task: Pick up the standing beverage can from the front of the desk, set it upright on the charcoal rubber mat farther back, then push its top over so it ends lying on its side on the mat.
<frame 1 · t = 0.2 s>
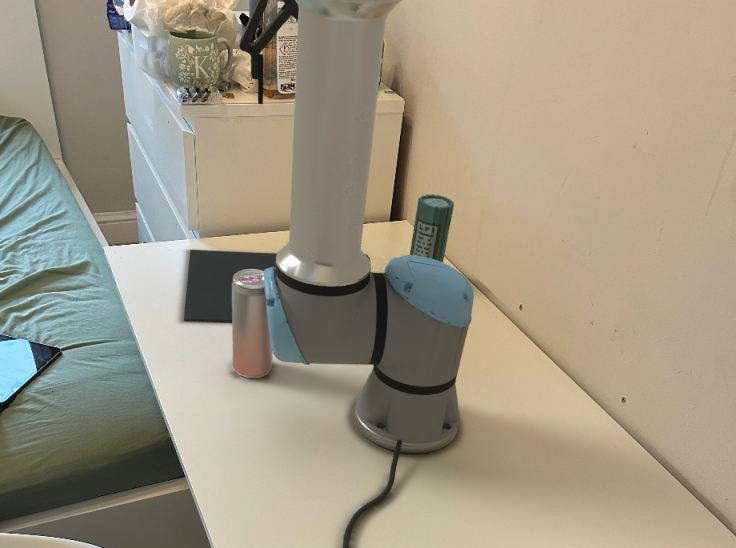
hand: (301, 105, 121), 28 cm above the table, tool pointing down, fingers open, 13 cm apart
camera: (332, 290, 135), on the table
can: (422, 281, 141), on the table
mat: (238, 285, 133), on the table
beverage can: (252, 370, 114), on the table
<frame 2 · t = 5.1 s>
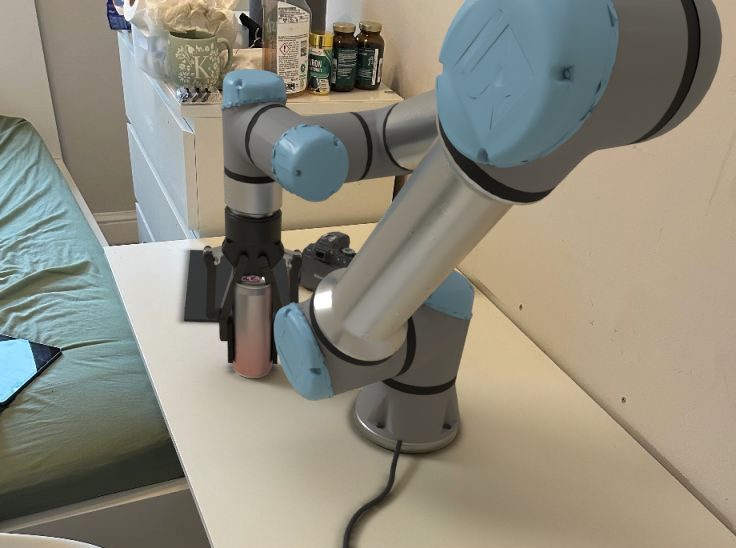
hand: (252, 358, 112), 2 cm above the table, tool pointing down, fingers closed on beverage can, 6 cm apart
beverage can: (252, 370, 114), on the table, touching gripper
everything else where it was.
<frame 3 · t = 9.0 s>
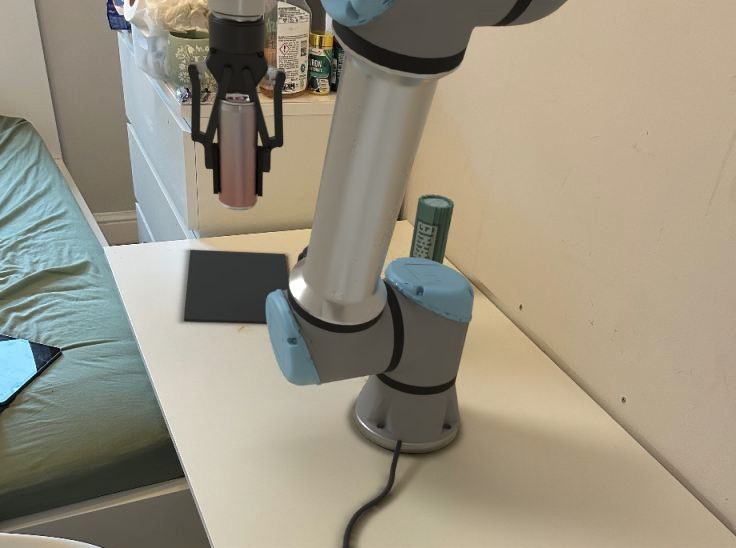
hand: (238, 191, 113), 20 cm above the table, tool pointing down, fingers closed on beverage can, 6 cm apart
beverage can: (238, 204, 115), point 18 cm above the table, touching gripper
everything else where it was.
when the fingers open (2 cm above the table, at t = 13.1 s): beverage can stays where it is, resting on mat.
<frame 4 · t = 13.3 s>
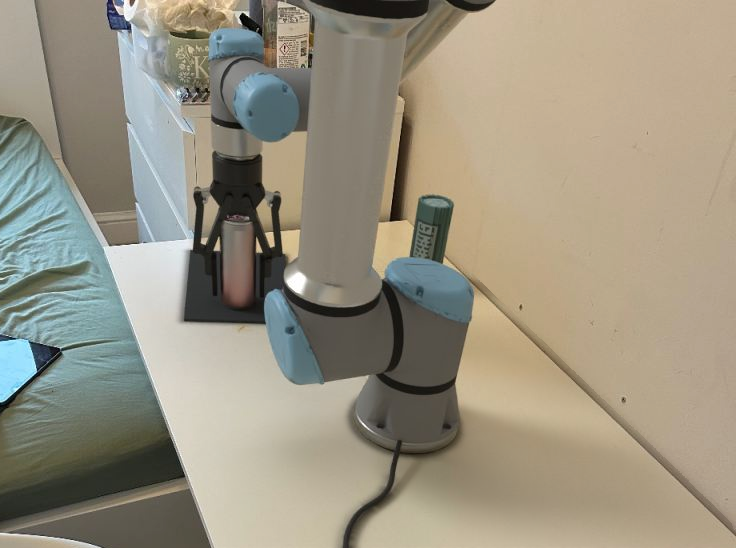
hand: (238, 292, 126), 2 cm above the table, tool pointing down, fingers open, 7 cm apart
beverage can: (238, 303, 127), resting on mat
everything else where it was.
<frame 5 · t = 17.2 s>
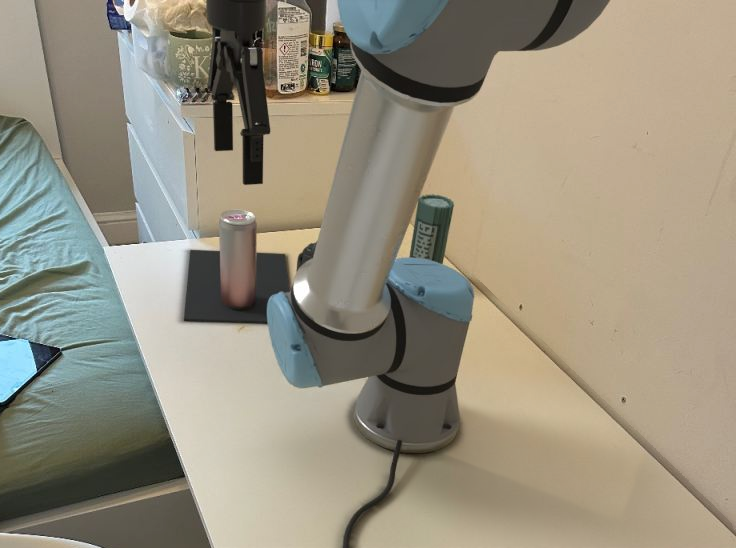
hand: (237, 166, 107), 25 cm above the table, tool pointing down, fingers open, 13 cm apart
nothing on the table moved.
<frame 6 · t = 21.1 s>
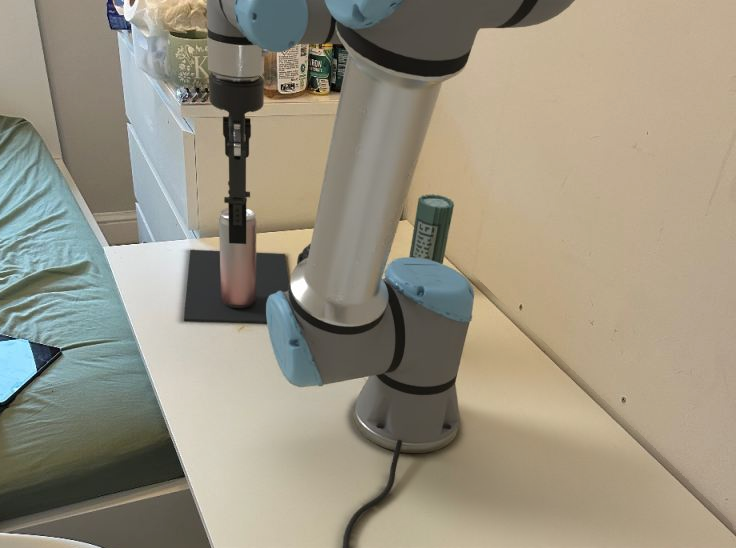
hand: (237, 241, 117), 13 cm above the table, tool pointing down, fingers closed
nothing on the table moved.
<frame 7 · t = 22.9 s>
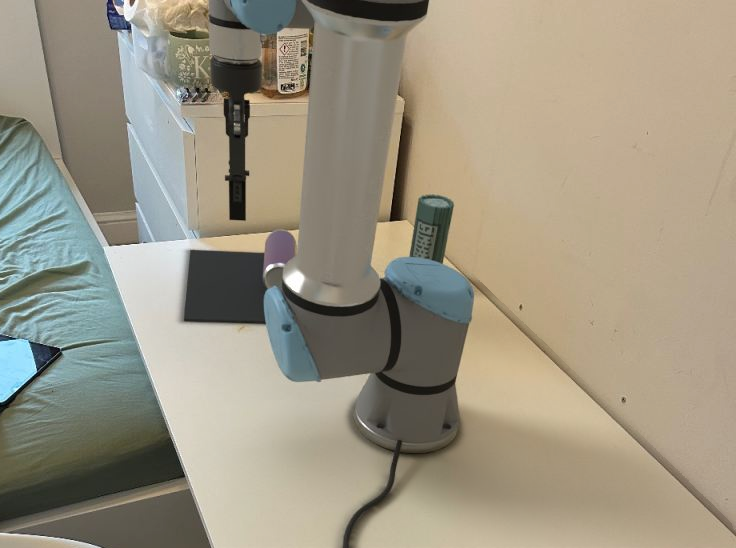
hand: (237, 218, 123), 13 cm above the table, tool pointing down, fingers closed
camera: (332, 290, 135), on the table, touching beverage can
beverage can: (279, 281, 128), point 3 cm above the table, touching camera, mat
everything else where it was.
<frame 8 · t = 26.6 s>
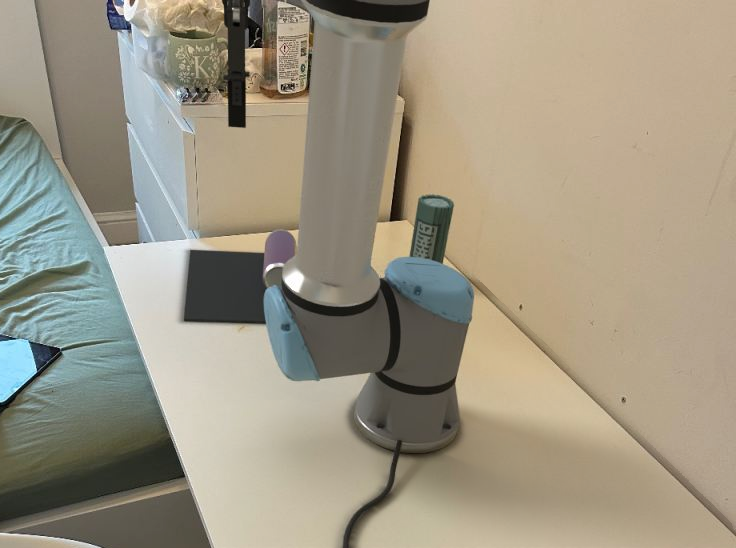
hand: (237, 125, 115), 26 cm above the table, tool pointing down, fingers closed
nothing on the table moved.
at the end: beverage can tilted 90°; beverage can inside the target area on the mat (8.5 cm from its centre), point 3.4 cm above the mat's base; the gripper is holding nothing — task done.
